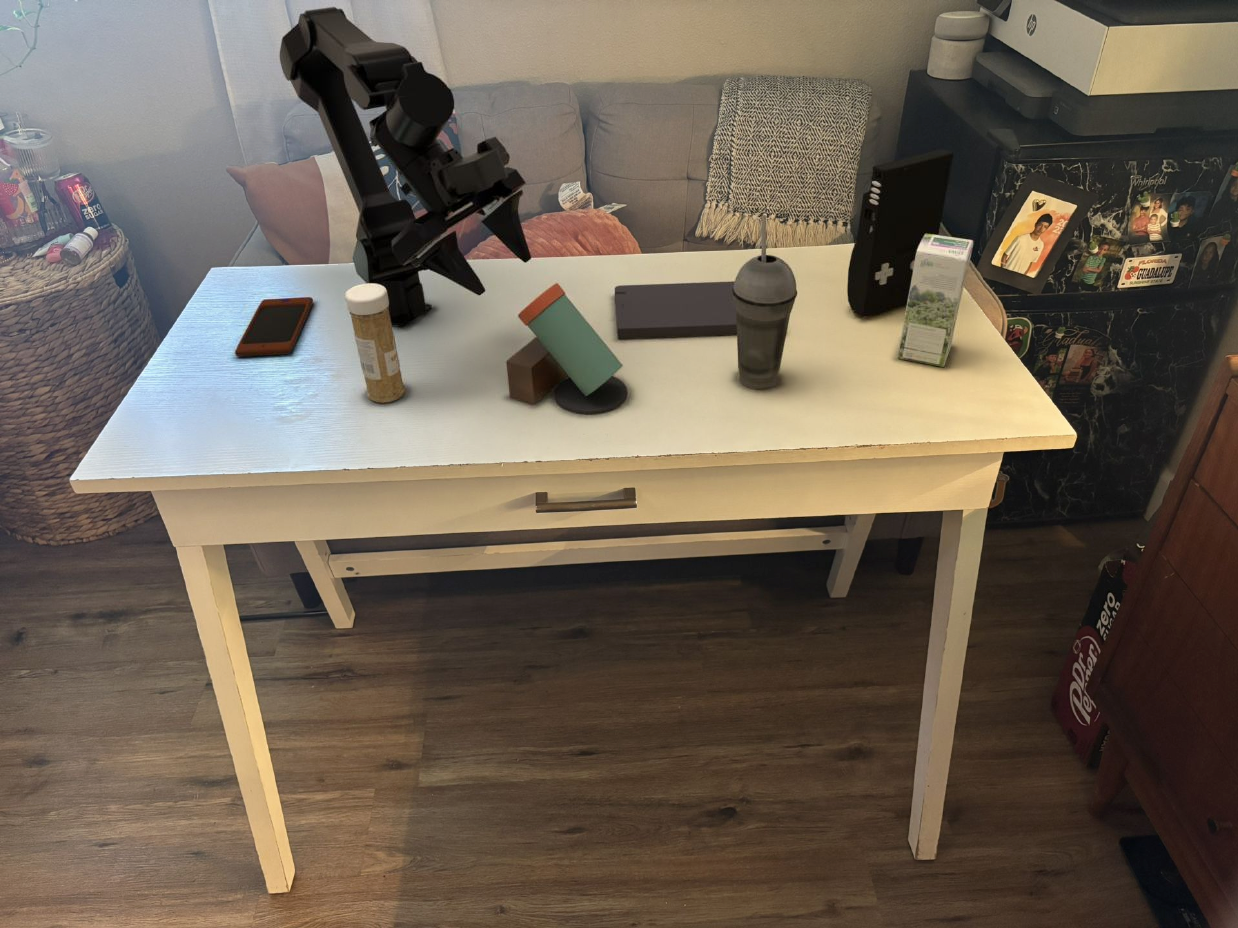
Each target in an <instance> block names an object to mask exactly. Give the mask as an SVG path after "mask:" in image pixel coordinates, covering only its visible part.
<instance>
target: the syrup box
mask: <svg viewBox="0 0 1238 928" xmlns="http://www.w3.org/2000/svg"><path fill="white" fill-rule="evenodd" d="M973 247H974V240H973V239H968V238H967V239H966V238H962V237H961V238H960V237H952V236H946V235H941V234H939V235H933V234H925V235H924V237H923V239H922V240H921V242H920V245H919V247H918V249H917V252H916V257H915V263H914V268H913V274H912V280H911V286H910V291H909V296H908V302H907V305H906V306H905V307H906V308H905V314H904V319H903V326H902V330H901V338H900V342H899V347H898V352H897V359H899V360H905V361H909V362H914V363H915V362H916V363H920V364H926V365H929V366H936V367H940V368H941V367H942V368H943V367H945V364H946V362H947V358H948V356H949V354H950V350H951V348H952V344H953V339H954V333H955V328H956V323H957V319H958V313H959V309H960V304H961V301H962V296H963V292H964V287H965V283H966V279H967V276H968V275H967V274H968V269H969V266H970V261H971V258H972V254H973V253H972V252H973V249H974V248H973Z"/></svg>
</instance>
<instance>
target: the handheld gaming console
mask: <svg viewBox="0 0 1238 928" xmlns="http://www.w3.org/2000/svg"><path fill="white" fill-rule="evenodd" d="M954 154H955V153H954V151H951V150H948V149H945V148H940V149H937V150H933V151H929V152H925V153H921V154H917V155H914V156H913V155H912V156H910V157H909V156H908V157H905V158H900V159H898V160H897V159H896V160H893V161H889V162H885V163H880V164H877V165H873V166H872V174H871V175H872V176H871V181H870V189H869V190H868V191H866V192H864V193H863V194H862V199H861V206H860V213H859V219H858V220H859V221H858V228H857V236H856V237H855V240H856V242H855V243H854V244H853V248H852V250H851V254H850V258H849V265H848V268H847V285H846V294H847V302H848V304H849V307H850V309H851V311H852V312H853V313H854V314H855V315H857V316H859V317H861V318H869V317H874V316H880V315H883V314H886V313H888V312H892V311H895V310H897V309H901V308H903V307H907V302H908V296H909V291H910V286H911V280H912V274H913V268H914V263H915V257H916V252H917V249H918V247H919V245H920V242H921V240H922V239H923V237H924V235H925V234H933V235H940V230H941V223H942V218H943V213H944V208H945V201H946V196H947V191H948V185H949V180H950V174H951V169H952V164H953V158H954Z"/></svg>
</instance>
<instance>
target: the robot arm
mask: <svg viewBox="0 0 1238 928" xmlns="http://www.w3.org/2000/svg"><path fill="white" fill-rule="evenodd" d="M279 63H280V66H281V67H280V68H281V70H282V73H283V75H284V77H285V79H286V80H287V81H288V82H290V83H291V86H292V87H293V89H294V92H295V93H296V96H297V97H298V99H299V100H301V101H302V102H303V103H305V104H306V105H307V106H308V107H310V108H311V109H312V110H314V111H316V112H317V114H318V116H319V119H320V121H321V123H322V126H323V128H324V130H325V133H326V135H327V137H328V140H329V143H330V145H331V147H332V149H333V152H334V155H335V157H336V160H337V161H338V165H339V166H340V169H341V171H342V174H343V177H344V178H345V181H346V183H347V186H348V188H349V191H350V193H351V195H352V198H353V200H354V202H355V205H356V209H357V210H358V214H359V215H358V220H357V226H356V230H355V231H356V232H355V238H356V240H357V241H356V243H355V247H354V250H353V255H352V262H353V266H354V268H355V272H356V274H357V275H358V277H360V278H361V280H362V281H364V282H365V284H368V283H373V284H379V285H382V286H384V287H385V288H386V290H387V294H388V299H389V305H388V306H389V307H388V309H389V315H390V320H391V325H392V326H396V327H398V328H406V327H407V326H409V325H410V324H411V323H413V322H414V321H416V320H417V319H419V318H420V317H422V316H423V315H425V314H427V313H428V312H429V311H431V310H433V306H432V304H430V303H426V300H425V294H424V293H425V292H424V287H423V283H422V282H421V280H420V274H419V273H420V272H422V271H428V270H429V271H431V272H433V273H435V274H437V275H440V276H442V277H444V278H446V279H448V280H450V281H451V282H453V283H454V284H457V285H459V286H460V287H462V288H464V289H466V290H468V291H470V292H471V293H472V294H475V295H477V296H480V297H481V295H483V294H485V293H486V288H485V286H484V284H483V283H482V281H481V279H480V278H479V275H478V274H477V273H476V272H475V270H474V269H473V268H472V266H471V265H470V263H469V262H468V259H466V257H465V256H464V255H463V253H462V252H461V250H460V249H459V243H458V235H457V231H456V230H453V231H452V232H450V233H449V234H448V233H447V232H448V231H449V230H450V229H452V228H454V227H455V226H457V225H459V224H460V223H462V222H464V221H465V220H467V219H469V218H471V217H472V216H473V215H475V214H478V215H481V216H484V217H485V218H484V219H482V220H481V223H482V224H483V225H484V226H485V227H486V228H487V229H488V230H489V231H490V232H491V233H492V234H493V235H494V236H495V237H496V238H497V239H498V240H499V241H500V242H501V243H502V244H503V245H504V246H505V248H507V249H508V250H509V251H510V252H511V253H512V254H513V255H514V256H516V258H518V259H519V260H520V261H522V262H523V263H525V264H527V263H528V262H529V261H531V259H532V255H531V251H530V247H529V245H528V242H527V240H526V236H525V233H524V230H523V227H522V222H521V219H520V215H519V205H520V199H521V197H522V196H523V195H524V191H523V189H521V188H522V187H523V186H525V185H526V184H527V183H526V181H525V180H524V178H523V177H522V174H520V172H519V171H518V170H517V169H516V168H513V167H509V166H507V165H509V164H510V158H511V156H510V154H509V153H508V151H507V149H506V147H505V146H504V145H503V144H502V143H501V141H500V140H499V138H497V137H496V136H492V137H488V138H486V139H484V140H482V141H480V142H479V143H477V145H476V152H475V153H473V154H471V155H468V156H465V157H463V156H462V155H461V152H459V150H457V149H455V148H454V147H451V148H450V149H447V150H446V149H445V147H444V146H443V145H442V143H441V142H440V140H439V139H438V137H439V135H440V134H441V132H442V131H443V129H444V128H445V126H446V125H447V123H448V121H450V118H451V117H452V115H453V114H454V110H455V98H454V94H453V91H452V90H451V88H449V86H448V85H447V84H446V82H444V80H442V79H441V78H440V77H438V76H437V75H436V74H433V73H429V72H427V70H426V69H425V67H424V64H423V62H422V61H418V59H416V57H414V55H412V54H411V52H410V51H409V50H408V49H407V48H406V47H405V46H403V45H401V44H398V43H395V42H384V41H383V42H382V41H381V42H380V41H375V40H373V39H372V38H371V37H369V35H368V34H366V33H365V32H364V31H363V30H361V29H360V28H359V27H358V26H356V24H354V23H353V22H352V21H350V20H349V19H348V18H347V16H346V14H345V12H344V10H343V9H342V8H337V7H336V6H330V7H323V8H322V7H321V8H315V9H307V10H305V11H304V12H303V13H300V14H299V16H298V22H297V24H295V25H294V26H293V27H292V28H291V29H290V30H289V31H287V32H286V33H285V35H283V36H282V38H281V42H280V48H279ZM354 102H355V103H356V105H357V106H358V107H359V108H360V109H362V110H363V111H368V110H371V109H372V110H373V109H377V108H382V107H383V108H384V107H385V110H384V112H382V113H381V114H379V115H378V116H376V117H374V118H373V119H371V120H370V121H369V122H368V124H369V126H370V133H369V138H368V136H367V133H366V131H365V128H364V126H363V123H362V121H361V119H360V116H359V114H358V111H357V108H356V106H355V105H354ZM372 146H373V147H379V149H380V150H381V152H382V153H383V154H384V156H385V157H386V158H387V160H388V161H389V163H390V164H391V165H392V166H393V168H394V169H395V170H396V172H397V173H398V174H399V176H400V177H401V179H402V180H403V181H404V182H405V183H404V184H403V185H402V186H401V187H400V190H401V192H402V193H403V194H404V195H405V196H408V195H411V194H412V193H413V194H414V196H415V198H416V199H417V201H419V203H420V204H421V206H422V207H423V208H424V210H425V211H426V213H423V214H422V215H420V216H419V217H417V218H416V216H415V213H414V210H413V208H412V204H410V202H409V201H408V200H407V199H405V198H403V199H398V198H396V197H395V196H394V195H392V193H391V190H390V188H389V186H388V184H387V182H386V179H385V177H384V174H383V172H382V169H381V167H380V164H379V161H378V159H377V157H376V155H375V152H374V150H373V147H372ZM505 166H506V167H505Z"/></svg>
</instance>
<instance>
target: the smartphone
mask: <svg viewBox="0 0 1238 928" xmlns="http://www.w3.org/2000/svg"><path fill="white" fill-rule="evenodd" d="M313 303H314V299H313V297H311V296H303V297H284V298H283V297H282V298H266V299H262V300H261V302H260V303H259V305H258V306H257V308H256V311H255V312H254V314H253V316H252V317H251V320H250V322H249V324H248V325H247V327H246V329H245V331H244V333H243V335H242V336H241V339H240V340H239V343H238V344H237V346H236V348H235V351H234V354H235V356H237V357H253V356H254V357H255V356H272V355H287V354H291V353H292V351H293V350H294V347H295V345H296V343H297V340H298V338H299V336H300V334H301V332H302V329H303V327H304V324H305V321H306V320H307V318H308V315H309V313H310V311H311V308H312V306H313Z"/></svg>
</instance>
